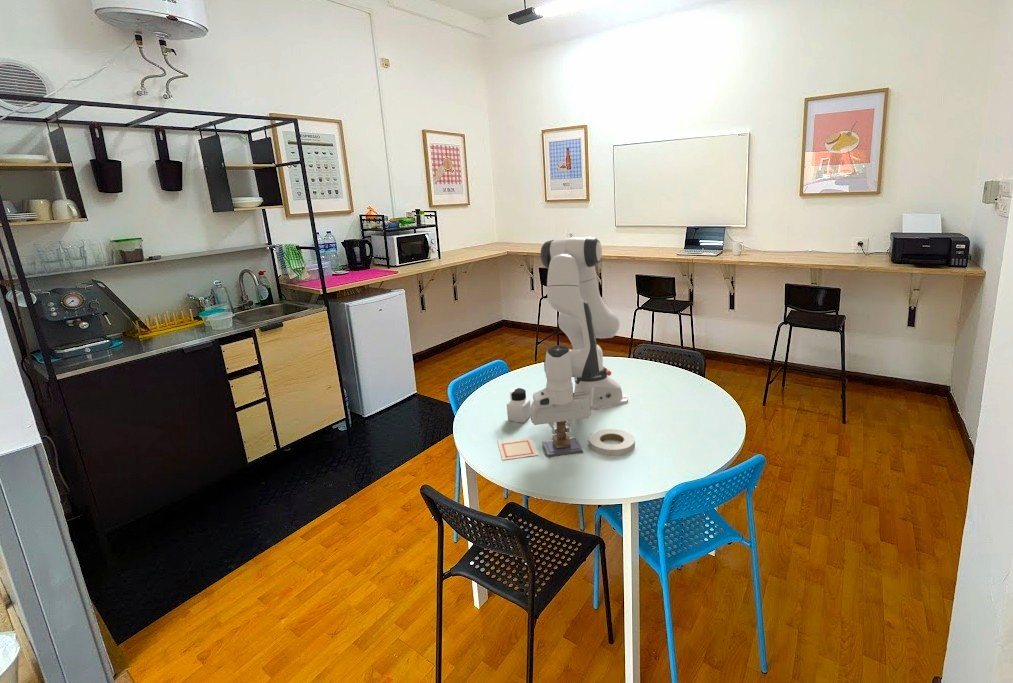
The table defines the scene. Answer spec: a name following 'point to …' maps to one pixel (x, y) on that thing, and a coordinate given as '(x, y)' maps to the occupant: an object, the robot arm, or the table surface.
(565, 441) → the walnut stamp
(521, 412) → the medicine bottle
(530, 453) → the tan card
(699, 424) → the table surface
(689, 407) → the table surface
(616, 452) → the roll of tape
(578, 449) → the ink pad
